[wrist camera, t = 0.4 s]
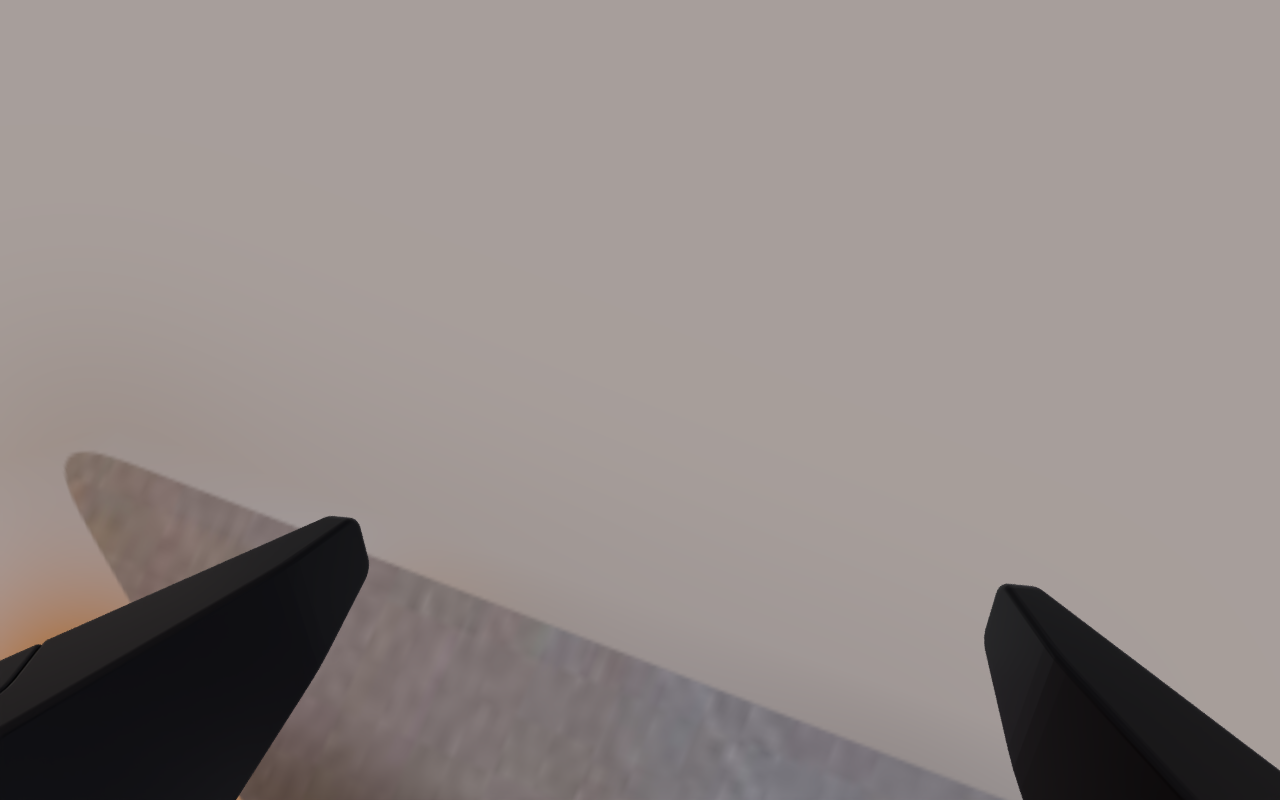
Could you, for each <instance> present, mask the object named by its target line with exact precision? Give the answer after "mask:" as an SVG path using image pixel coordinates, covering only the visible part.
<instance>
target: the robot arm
mask: <svg viewBox="0 0 1280 800" xmlns="http://www.w3.org/2000/svg"><path fill="white" fill-rule="evenodd" d="M368 569H369V560H368V555H367V552H366V548H365V544H364V540H363V536H362V532H361V528H360V526H359V524H358V522H357V521H356V520H355V519H353V518H347V517H337V516H328V517H325V518H322V519H320V520H318V521H316V522H314V523H311V524H309V525H307V526H304V527H302V528H300V529H298V530H295V531H293V532H291V533H288V534H286V535H284V536H282V537H279V538H277V539H275V540H273V541H270V542H268V543H266V544H264V545H261V546H259V547H257V548H255V549H252V550H250V551H248V552H245V553H243V554H241V555H239V556H236V557H234V558H232V559H230V560H227V561H225V562H223V563H221V564H218V565H216V566H214V567H211V568H209V569H207V570H205V571H202V572H200V573H198V574H196V575H193V576H191V577H189V578H187V579H184V580H182V581H180V582H177V583H175V584H173V585H171V586H168V587H166V588H164V589H162V590H159V591H157V592H155V593H153V594H150V595H148V596H146V597H143V598H141V599H139V600H137V601H134V602H132V603H130V604H128V605H126V606H123V607H121V608H119V609H117V610H114V611H112V612H110V613H107V614H105V615H103V616H101V617H98V618H96V619H94V620H92V621H89V622H87V623H85V624H82V625H80V626H78V627H76V628H73V629H71V630H69V631H67V632H64V633H62V634H60V635H57V636H55V637H53V638H51V639H48V640H47V641H45V642H44V643H43V644H42V645H39V644H38V645H35V646H32V647H30V648H28V649H25V650H23V651H21V652H19V653H16V654H14V655H12V656H10V657H8V658H5V659H3V660H1V661H0V800H236V799H237V798H238V796H239V795H240V793H241V791H242V790H243V788H244V787H245V785H246V784H247V782H248V780H249V779H250V777H251V776H252V774H253V773H254V771H255V769H256V768H257V766H258V765H259V763H260V762H261V760H262V758H263V757H264V755H265V754H266V752H267V751H268V749H269V747H270V746H271V744H272V743H273V741H274V740H275V738H276V736H277V735H278V733H279V732H280V730H281V729H282V727H283V725H284V724H285V722H286V721H287V719H288V718H289V716H290V714H291V713H292V711H293V710H294V708H295V707H296V705H297V703H298V702H299V700H300V699H301V697H302V696H303V694H304V692H305V691H306V689H307V688H308V686H309V685H310V683H311V681H312V680H313V678H314V676H315V675H316V673H317V671H318V670H319V668H320V666H321V664H322V663H323V661H324V659H325V657H326V655H327V653H328V652H329V650H330V648H331V646H332V644H333V642H334V640H335V638H336V636H337V634H338V632H339V630H340V628H341V626H342V624H343V622H344V620H345V618H346V616H347V614H348V612H349V610H350V609H351V607H352V605H353V603H354V601H355V599H356V597H357V595H358V593H359V591H360V589H361V587H362V585H363V583H364V581H365V579H366V577H367V574H368ZM984 644H985V651H986V655H987V660H988V665H989V669H990V673H991V678H992V682H993V686H994V690H995V695H996V699H997V704H998V708H999V712H1000V717H1001V721H1002V725H1003V730H1004V734H1005V738H1006V743H1007V747H1008V751H1009V755H1010V759H1011V763H1012V767H1013V771H1014V774H1015V777H1016V780H1017V783H1018V786H1019V789H1020V792H1021V795H1022V798H1023V800H1280V770H1278V769H1277V768H1276V767H1275V766H1273V765H1272V764H1271V763H1269V762H1268V761H1267V760H1265V759H1264V758H1263V757H1261V756H1260V755H1259V754H1257V753H1256V752H1255V751H1254V750H1252V749H1251V748H1250V747H1248V746H1247V745H1246V744H1244V743H1243V742H1241V741H1240V740H1239V739H1238V738H1236V737H1235V736H1234V735H1232V734H1231V733H1230V732H1228V731H1227V730H1226V729H1224V728H1223V727H1222V726H1221V725H1219V724H1218V723H1216V722H1215V721H1214V720H1213V719H1211V718H1210V717H1209V716H1207V715H1206V714H1205V713H1203V712H1202V711H1201V710H1199V709H1198V708H1197V707H1195V706H1194V705H1193V704H1191V703H1190V702H1189V701H1187V700H1186V699H1185V698H1184V697H1182V696H1181V695H1179V694H1178V693H1177V692H1176V691H1174V690H1173V689H1172V688H1170V687H1169V686H1168V685H1166V684H1165V683H1164V682H1162V681H1161V680H1160V679H1159V678H1157V677H1156V676H1155V675H1153V674H1152V673H1150V672H1149V671H1148V670H1147V669H1145V668H1144V667H1143V666H1141V665H1140V664H1139V663H1137V662H1136V661H1135V660H1134V659H1132V658H1131V657H1130V656H1128V655H1127V654H1126V653H1124V652H1123V651H1122V650H1120V649H1119V648H1118V647H1116V646H1115V645H1114V644H1112V643H1111V642H1110V641H1108V640H1107V639H1106V638H1104V637H1103V636H1102V635H1100V634H1099V633H1098V632H1096V631H1095V630H1094V629H1093V628H1091V627H1090V626H1089V625H1087V624H1086V623H1085V622H1083V621H1082V620H1081V619H1079V618H1078V617H1077V616H1075V615H1074V614H1073V613H1071V612H1070V611H1069V610H1068V609H1066V608H1065V607H1064V606H1062V605H1061V604H1060V603H1058V602H1057V601H1056V600H1054V599H1053V598H1052V597H1050V596H1049V595H1048V594H1046V593H1045V592H1044V591H1042V590H1041V589H1039V588H1037V587H1033V586H1025V585H1016V584H1004V585H1002V586H1000V587H999V589H998V590H997V593H996V595H995V599H994V602H993V606H992V609H991V612H990V616H989V619H988V623H987V626H986V629H985V635H984Z"/></svg>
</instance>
